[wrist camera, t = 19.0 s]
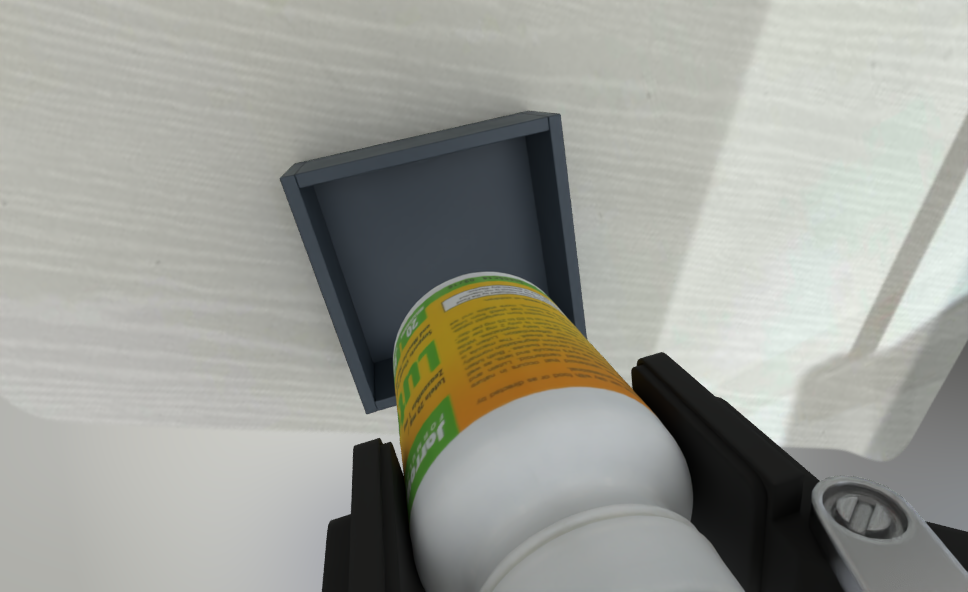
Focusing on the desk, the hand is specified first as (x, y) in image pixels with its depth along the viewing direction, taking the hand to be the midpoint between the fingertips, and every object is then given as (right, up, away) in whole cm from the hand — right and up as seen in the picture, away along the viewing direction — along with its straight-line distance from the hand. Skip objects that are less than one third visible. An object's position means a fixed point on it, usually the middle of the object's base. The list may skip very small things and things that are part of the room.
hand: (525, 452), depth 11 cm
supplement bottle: (-1, +2, +5) cm, 5 cm away
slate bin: (-3, +6, +16) cm, 18 cm away
